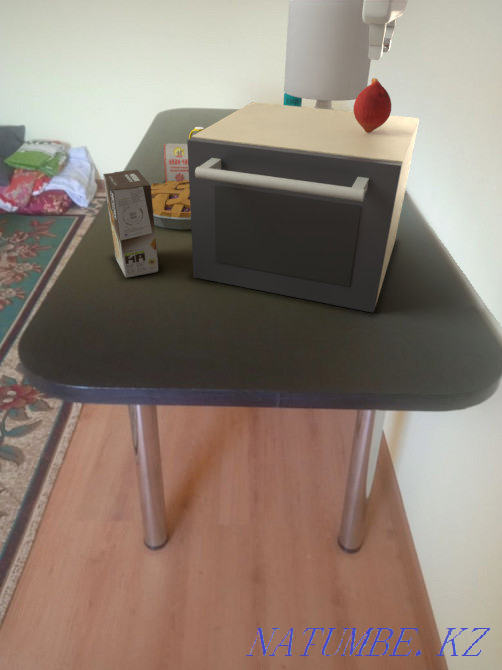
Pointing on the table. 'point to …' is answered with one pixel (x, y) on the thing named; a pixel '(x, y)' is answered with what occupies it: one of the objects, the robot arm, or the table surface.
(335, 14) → the lamp
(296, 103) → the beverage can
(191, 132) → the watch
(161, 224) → the pie
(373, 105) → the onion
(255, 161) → the oven door
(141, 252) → the coffee box
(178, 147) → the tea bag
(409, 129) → the oven
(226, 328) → the table surface
